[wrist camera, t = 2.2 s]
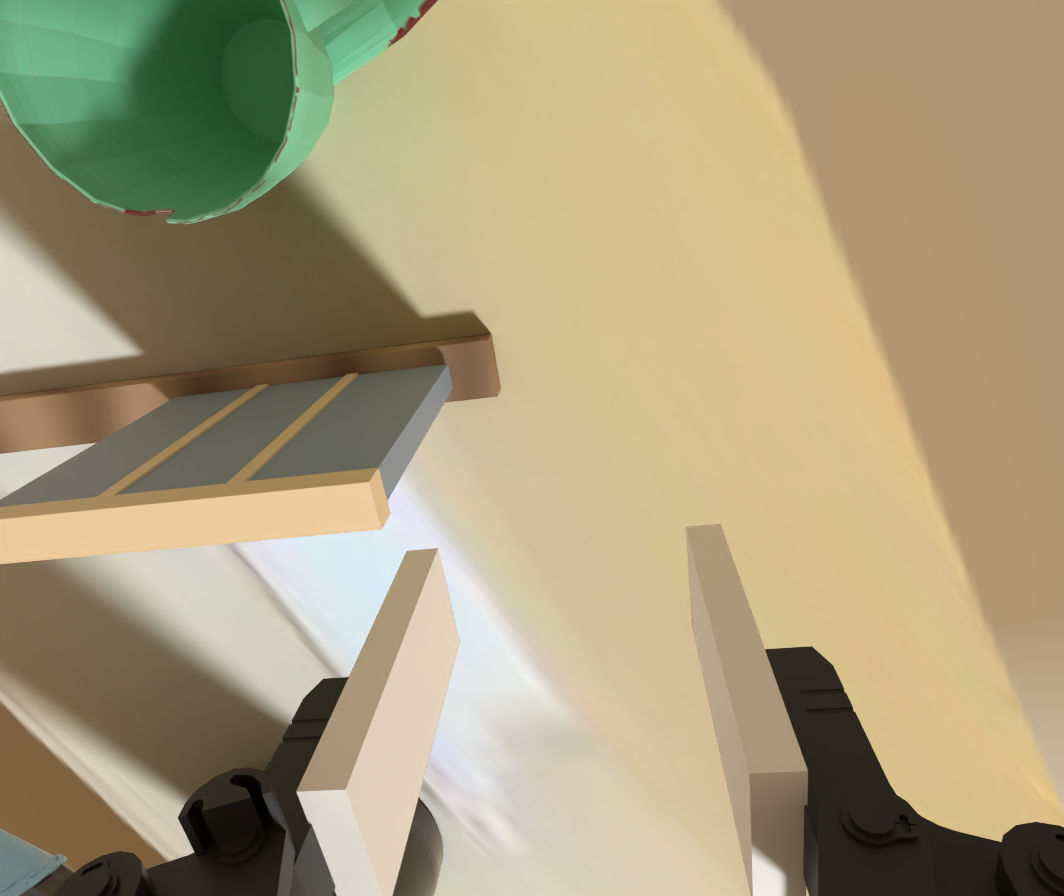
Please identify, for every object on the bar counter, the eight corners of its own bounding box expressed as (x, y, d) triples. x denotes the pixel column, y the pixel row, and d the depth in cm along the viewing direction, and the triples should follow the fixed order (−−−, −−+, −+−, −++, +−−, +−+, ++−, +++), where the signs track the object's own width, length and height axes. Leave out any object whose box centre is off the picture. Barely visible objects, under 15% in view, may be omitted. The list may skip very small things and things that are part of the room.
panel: (180, 424, 34) (-37, 567, 22) (169, 394, 34) (-60, 525, 22) (457, 391, 32) (381, 529, 21) (451, 359, 32) (368, 482, 20)
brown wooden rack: (-44, 451, 38) (-368, 604, 25) (-69, 405, 37) (-420, 539, 24) (500, 388, 34) (446, 531, 21) (491, 333, 33) (428, 449, 20)
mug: (246, 239, 32) (108, 273, 23) (119, 16, 29) (-101, -48, 19) (530, 96, 29) (502, 70, 19) (424, -173, 25) (332, -358, 16)
